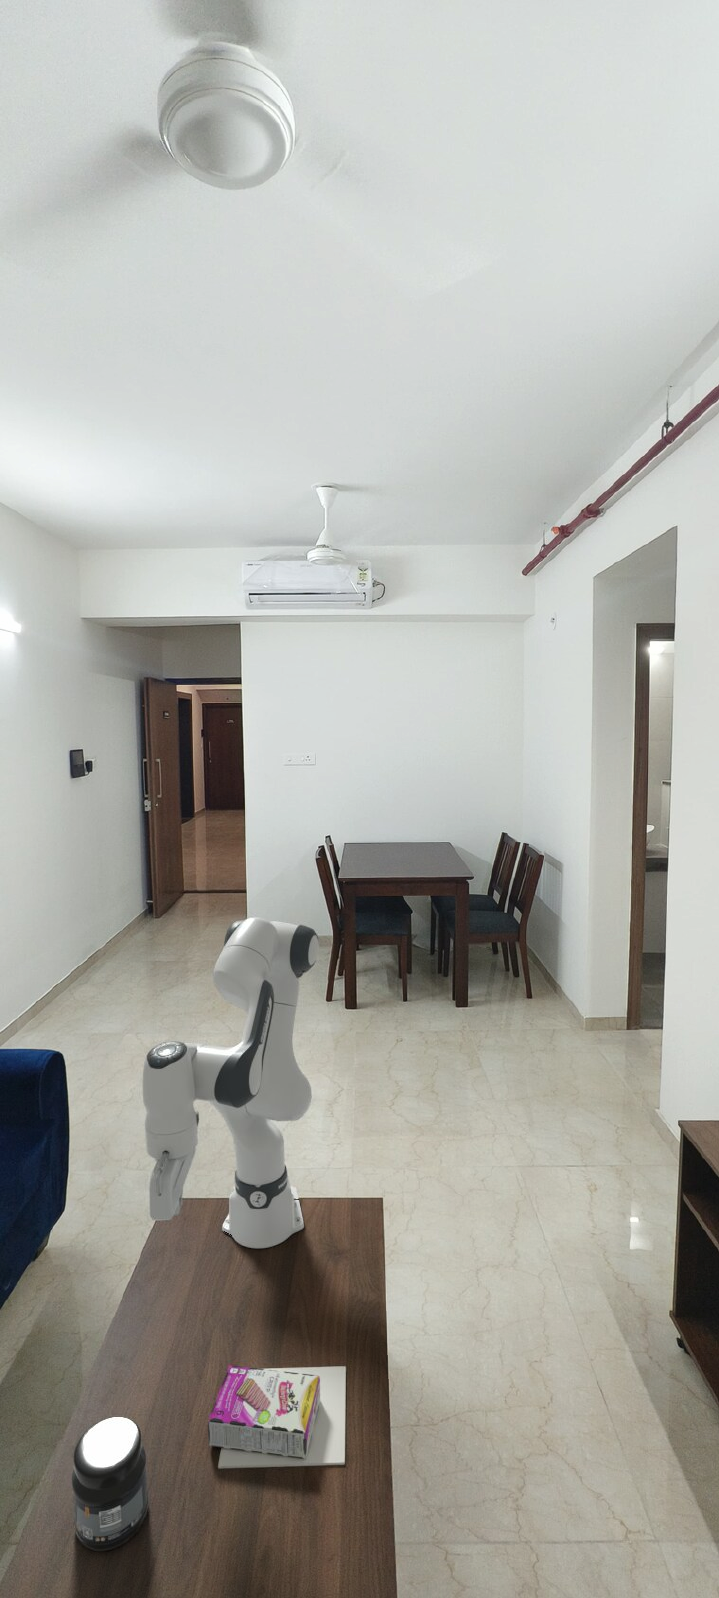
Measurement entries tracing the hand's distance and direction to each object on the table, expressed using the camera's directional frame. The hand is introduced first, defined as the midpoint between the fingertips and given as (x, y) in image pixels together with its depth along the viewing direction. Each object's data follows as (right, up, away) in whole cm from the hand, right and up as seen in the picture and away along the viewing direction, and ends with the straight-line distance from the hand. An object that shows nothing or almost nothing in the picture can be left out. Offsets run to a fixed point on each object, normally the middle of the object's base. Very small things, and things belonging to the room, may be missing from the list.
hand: (176, 1210), depth 137 cm
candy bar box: (+9, -29, -7) cm, 31 cm away
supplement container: (-4, -34, -22) cm, 41 cm away
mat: (+20, -31, -6) cm, 38 cm away
